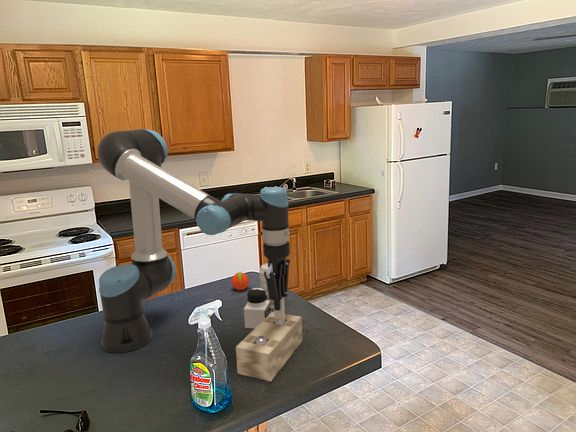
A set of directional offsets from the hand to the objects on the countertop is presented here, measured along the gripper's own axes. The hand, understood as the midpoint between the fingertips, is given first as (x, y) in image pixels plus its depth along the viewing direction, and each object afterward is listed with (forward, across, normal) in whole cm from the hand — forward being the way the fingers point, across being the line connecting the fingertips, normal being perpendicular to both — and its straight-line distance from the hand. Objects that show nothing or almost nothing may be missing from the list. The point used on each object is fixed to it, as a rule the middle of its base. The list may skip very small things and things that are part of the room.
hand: (279, 318), depth 127 cm
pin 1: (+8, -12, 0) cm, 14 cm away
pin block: (+9, -6, 0) cm, 11 cm away
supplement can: (+9, +25, +15) cm, 31 cm away
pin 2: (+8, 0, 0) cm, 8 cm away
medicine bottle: (+9, +10, +13) cm, 19 cm away
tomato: (+9, +33, +33) cm, 48 cm away
